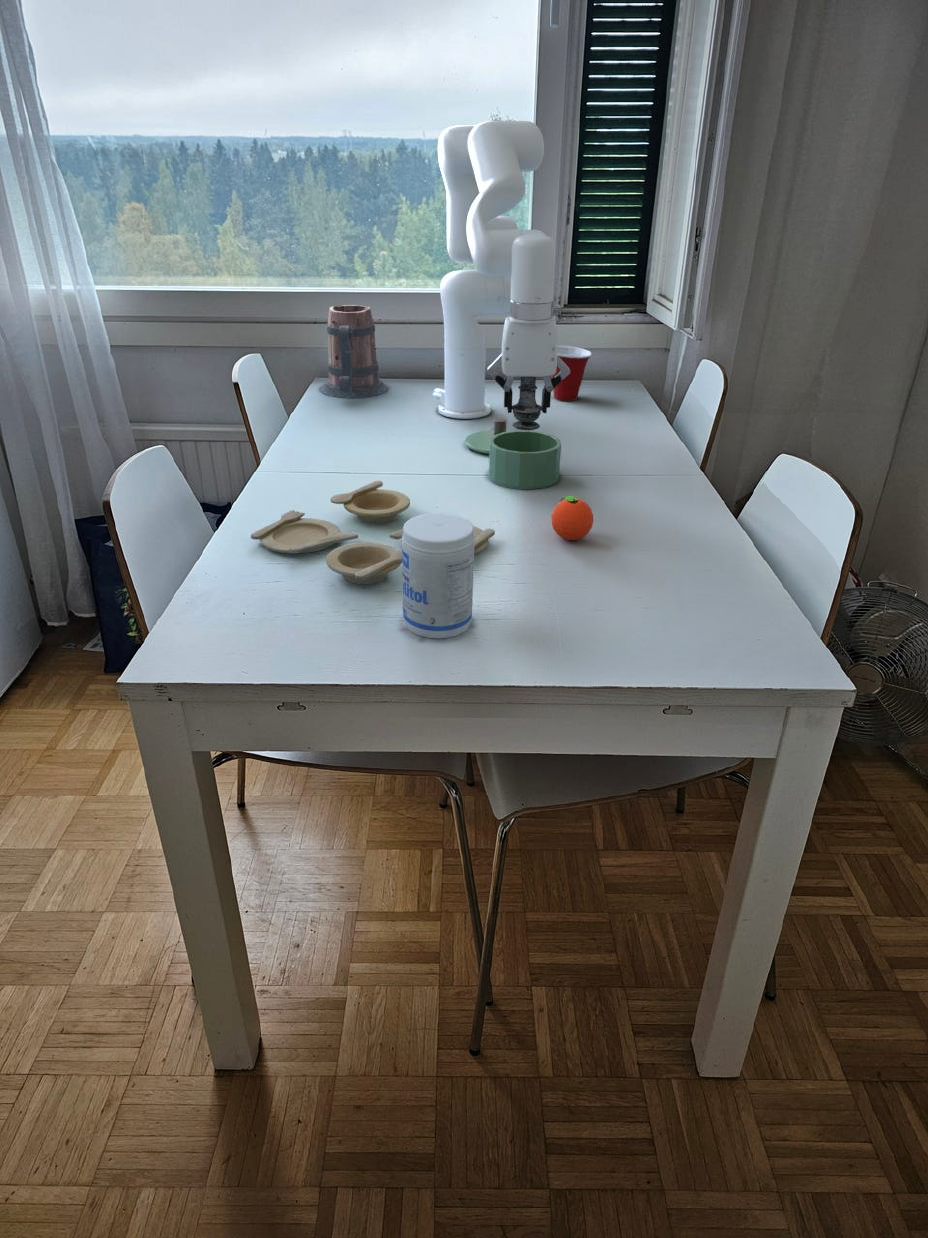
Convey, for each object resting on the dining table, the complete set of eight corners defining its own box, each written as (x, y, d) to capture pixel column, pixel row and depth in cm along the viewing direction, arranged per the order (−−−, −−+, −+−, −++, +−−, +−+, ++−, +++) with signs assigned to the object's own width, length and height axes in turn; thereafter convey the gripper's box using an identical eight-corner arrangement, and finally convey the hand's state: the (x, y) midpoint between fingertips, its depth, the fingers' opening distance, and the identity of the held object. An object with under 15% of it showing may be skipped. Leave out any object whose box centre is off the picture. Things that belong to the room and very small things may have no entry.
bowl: (490, 489, 164) (491, 453, 161) (487, 464, 176) (488, 430, 172) (561, 489, 164) (564, 453, 161) (554, 464, 176) (557, 430, 173)
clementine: (539, 531, 148) (542, 491, 144) (575, 525, 150) (578, 486, 146) (562, 550, 141) (565, 509, 138) (599, 543, 144) (603, 503, 140)
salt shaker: (541, 421, 167) (545, 358, 161) (541, 431, 162) (544, 366, 156) (511, 420, 168) (513, 357, 162) (509, 430, 163) (512, 365, 157)
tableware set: (512, 547, 142) (513, 524, 140) (379, 611, 123) (378, 586, 121) (369, 491, 162) (368, 471, 160) (236, 538, 144) (233, 516, 142)
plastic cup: (590, 404, 214) (594, 354, 208) (546, 403, 214) (549, 354, 208) (585, 392, 223) (589, 344, 217) (543, 391, 223) (546, 343, 217)
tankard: (327, 379, 232) (321, 300, 222) (390, 380, 231) (387, 301, 221) (310, 404, 211) (303, 319, 201) (379, 405, 211) (376, 320, 201)
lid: (465, 456, 180) (465, 430, 177) (464, 434, 192) (465, 409, 189) (536, 457, 180) (537, 430, 177) (530, 435, 192) (532, 409, 190)
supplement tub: (389, 625, 120) (385, 527, 112) (434, 600, 126) (434, 505, 119) (441, 649, 114) (441, 548, 107) (486, 622, 121) (489, 524, 113)
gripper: (576, 307, 158) (570, 405, 167) (482, 306, 158) (480, 405, 167) (582, 315, 152) (574, 417, 161) (483, 314, 151) (481, 416, 160)
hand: (526, 410), depth 164 cm, fingers closed on salt shaker, 5 cm apart
